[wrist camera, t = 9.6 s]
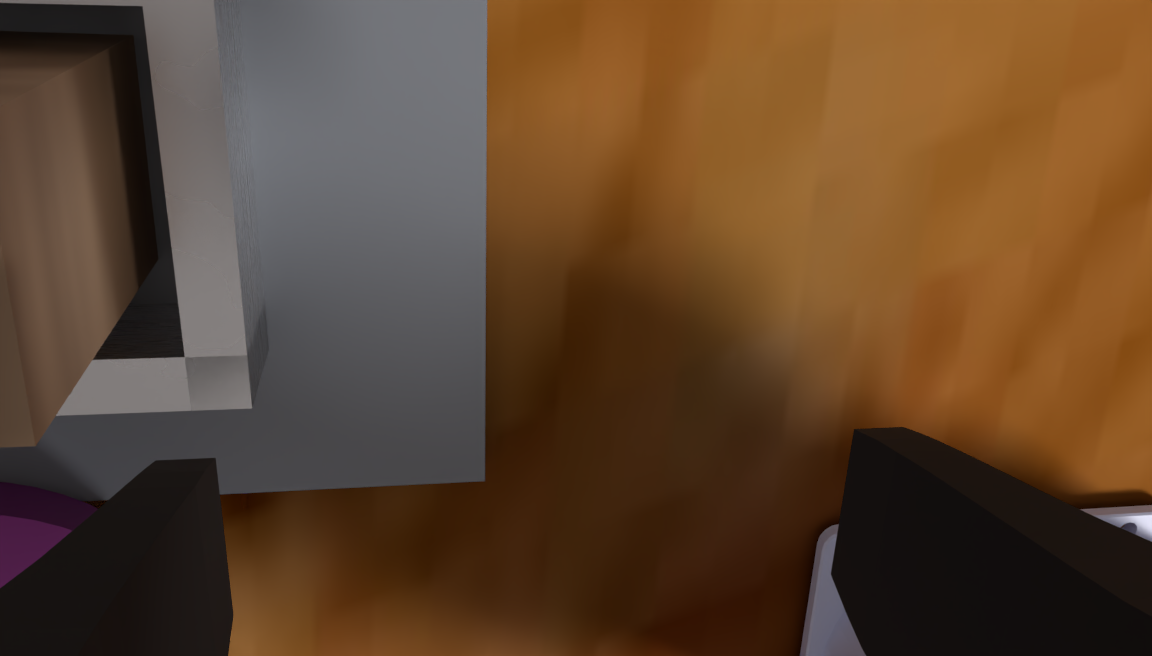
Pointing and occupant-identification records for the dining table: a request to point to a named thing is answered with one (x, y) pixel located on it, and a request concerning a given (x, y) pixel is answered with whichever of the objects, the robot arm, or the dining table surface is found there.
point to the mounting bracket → (34, 524)
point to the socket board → (291, 249)
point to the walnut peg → (66, 214)
